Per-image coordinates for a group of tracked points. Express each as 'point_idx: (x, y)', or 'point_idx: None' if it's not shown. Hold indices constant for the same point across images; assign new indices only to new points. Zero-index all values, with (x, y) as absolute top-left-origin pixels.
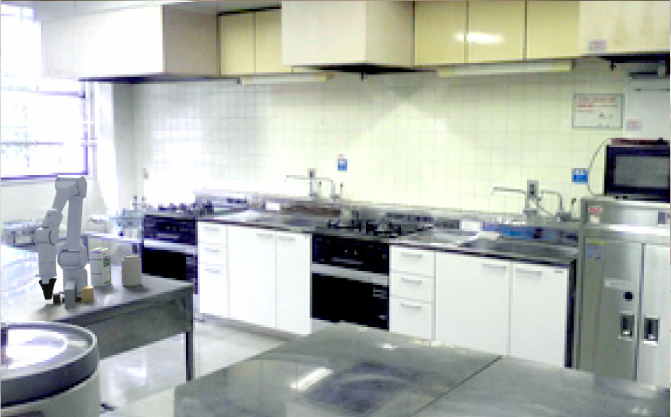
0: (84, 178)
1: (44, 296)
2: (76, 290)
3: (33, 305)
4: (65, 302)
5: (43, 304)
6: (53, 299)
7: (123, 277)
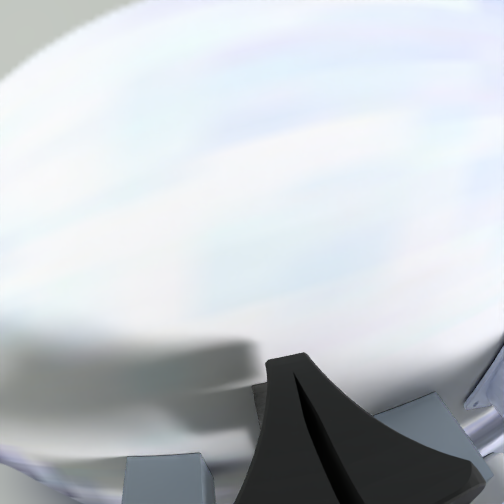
0: None
1: (267, 384)
2: None
3: (207, 242)
4: (124, 490)
5: (242, 323)
6: (258, 417)
7: (486, 486)
